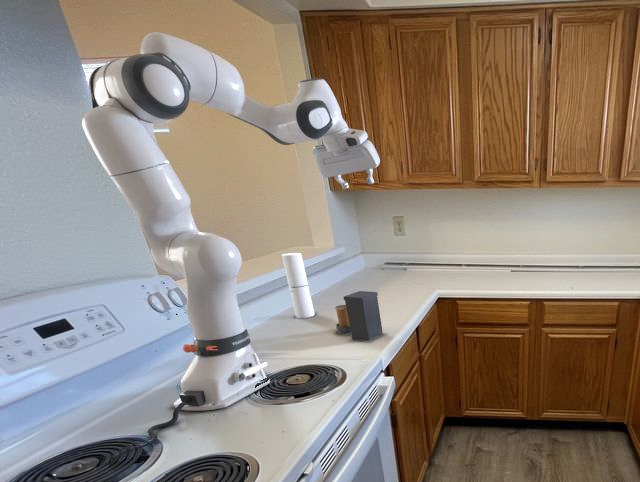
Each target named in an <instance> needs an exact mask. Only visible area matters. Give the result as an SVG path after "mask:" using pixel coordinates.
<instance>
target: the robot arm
mask: <svg viewBox="0 0 640 482" xmlns="http://www.w3.org/2000/svg"><path fill="white" fill-rule="evenodd" d="M140 43H141V44H140V47H139V48H140V49H139V53H138V54H133V55H131V56H129V57H124V58H123V57H121V58H115V59H113V60H110V61H108V62H106V63H105V64H103V65H101V66H98V67H96V68H95V69H94V70H93V71H92V72H91V75H90V76H89V80H88V90H89V95H90V98H91V107H92V108H90V109H89V110H88V111H86V113H84V115H83V116H82V118H81V127H82V130H83V132H84V134H85V137H86V138H87V140H88V142H89V145H90V147H91V149H92V150H93V152H94V153H95V156H96V158H97V159H98V162H100V165H101V166H102V168H103V169H104V171H105V172H106V173H107V175H108V176H109V178H110V179H111V181H112V182H113V184H114V186H115V187H116V188H117V190H118V191H119V192H120V194H121V196H122V198H124V201H126V203H127V205H128V206H129V207H130V209H131V210H132V212H133V214H134V215H135V217H136V219H137V221H138V223H139V224H140V225H139V226H140V227H141V229H142V231H143V234H144V236H145V238H146V240H147V242H148V244H149V247H150V255H151V258H152V260H153V262H154V263H155V265H156V266H157V267H159V268H160V269H161V270H163V271H165V272H166V273H168V274H170V275H171V276H174V277H176V278H182V279H184V280H185V284H186V298H187V299H186V303H185V306H184V309H185V314H186V316H187V319H188V322H189V324H190V327H191V330H192V333H193V336H194V337H193V344H192V343H191V344H187V343H186V344H184V345H183V346H182V351H183V353H186V354H187V353H192V354H194V356H193V358H192V360H191V362H190V363H189V365H188V367H187V369H186V370H185V372H184V374H183V375H182V377H181V379H180V381H179V384H180V390H181V393H180V394H178V397H179V398H177V399H176V400H175V401H174V402H173V407H174V408H175V409H174V410H173V412H172V418H171V419H170V420H168V421H165V422H162V423H158V424H156V425H152V426H151V427H150V428H148V430H147V435H148V436H150V437H151V438H154V439H153V440H152V441H150V442H148V443H147V444H145V445H143V446H140V447H138V448H135V449H132V450H129V451H128V452H130V451H133V450H137V449H140V448H144V447H147V446H150V445H152V444H154V443H155V442H156V441H157V440H158V437H159V436H158V434H157V433H156V432H155V431H156V430H159V429H162V428H167V427H170V426H172V425H174V424H175V423H176V422H177V421H178V419H179V413H180V411H195V412H197V411H200V412H201V411H213V410H219V409H224V408H227V407H229V406H231V405H233V404H235V403H236V402H239V401H240V400H242V399H244V398H245V397H247V396H249V395H251V394H253V393H254V392H256V391H259V390H260V389H262V388H264V387H266V386H267V385H269V384H270V383H271V380H270V378H269V380H268V381H267V382H265V383H263V384H261V385H259V386H257V387H256V388H255V385H256V384H257V383H262V382H264V381H261V380H263V379H265V378H267V374H265V371H264V369H263V368H264V367H266V366H268V363H267V362H263V363H262V364H261V361H260V359H259V357H258V355H257V353H256V351H255V350H254V349H253V348H252V346H251V341H252V340H251V336H250V334H249V332H248V331H249V330H248V329H247V328H246V327H245V323H244V320H243V317H242V314H241V311H240V306H239V302H238V297H237V296H238V295H237V294H238V293H237V278H238V274H239V272H240V271H241V269H242V265H243V258H242V254H241V252H240V250H239V248H238V247H237V245H235V243H233V242H232V241H231V240H229V239H227V238H225V237H223V236H221V235H218V234H216V233H213V232H206V231H205V232H204V231H202V232H201V231H200V230H199V229H198V226H197V225H196V223H195V220H194V216H193V213H192V208H191V204H192V200H191V197H190V195H189V194H188V192H187V190H186V188H185V186H184V185H183V183H182V181H181V180H180V178H179V176H178V175H177V173H176V172H175V170H174V168H173V167H172V164H171V163H170V161H169V159H167V157H166V155H165V154H164V152H163V150H162V149H161V147H160V146H159V143H158V141H157V138H156V135H155V131H154V125H156V124H161V123H164V122H167V121H169V120H175V119H176V118H179V117H181V116H182V115H183V114H184V113H185V111H186V110H187V108H188V106H189V104H190V100H191V101H193V102H196V103H198V104H201V105H203V106H206V107H208V108H211V109H215V110H216V111H220V112H223V113H225V114H227V115H229V116H231V117H233V118H235V119H237V120H240V121H242V122H244V123H246V124H248V125H251V126H253V127H255V128H258V129H259V130H261V131H262V132H264V133H265V134H266V135H267V136H268V137H270V138H271V139H272V140H273V141H275V143H277V144H279V145H283V146H291V145H294V144H298V143H305V142H311V141H312V142H313V141H317V140H319V139H321V142H322V144H316V145H314V146H313V148H312V152H311V153H312V155H313V158H314V159H315V161H316V164H317V167H318V169H319V172H320V174H321V176H322V177H324V178H326V179H328V178H334V180H335V181H336V182H337V183H338V184H340V185H341V188H342V189H343V190H346V189H349V187H350V185H349V182H348V181H347V180H346V181H345V180H344V179H343V178H342V176H343V175H348V174H351V173H358V172H362V171H365V173H367V174H368V176H367V177H366V182H367V184H368V185H372V184H374V183H375V180H374V177H373V175H374V169H376V168H378V166H380V163H381V159H380V156H379V153H378V151H377V149H376V148H375V145H374V144H373V142H372V141H370V140H369V139H368V138H369V135H368V133H367V131H366V130H362V129H356V128H351V127H349V126H348V124H347V122H346V120H345V119H344V118H343V115H342V110H341V107H340V104H339V102H338V100H337V97H336V96H335V94H334V92H333V90H332V89H331V87H330V85H329V83H328V82H327V81H326V80H325V79H324V78H322V77H314V78H308V79H304V80H300V81H299V82H298V90H297V93H296V95H295V97H294V98H293V100H292V102H288V103H283V104H273V105H268V104H264V103H262V102H260V101H258V100H256V99H254V98H252V97H251V96H249V95H247V94H246V88H245V83H244V80H243V78H242V75H241V73H240V72H239V70H238V69H237V68H236V67H235V66H234V65H233V64H232V63H231V62H230V61H228V60H226V59H225V58H223V57H221V56H220V55H218V54H215V53H214V52H212V51H210V50H209V49H206V48H204V47H202V46H200V45H198V44H194V43H192V42H190V41H188V40H185V39H183V38H179V37H177V36H174V35H171V34H167V33H165V32H164V33H163V32H161V31H153V32H149V33H147V34H146V35H145V36H144V38H143V39H142V41H141V42H140ZM253 388H254V389H253ZM131 445H132V444H130V445H127V446H123V447H122V448H120V449H119V450H122V449H125V448H128V447H130V446H131ZM124 453H126V452H124ZM124 453H122V454H120V455H117V456H115V457H111V456H110V458H111V459H112V461H110V460H111V459H110V458H109V459H108V461H107V466H109V465H113V464H114V463H116V461H117V459H118V458H119V457H120V456H121V455H123V454H124ZM109 461H110V462H109Z"/></svg>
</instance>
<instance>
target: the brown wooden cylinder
mask: <svg viewBox="0 0 640 482" xmlns="http://www.w3.org/2000/svg"><path fill="white" fill-rule="evenodd" d="M334 309H335V312H336V317H337V322H338V323H339V326H340V327H346V326H350V325H349V319H348V314H347V309H346V304H339V305H337V306H335V307H334Z"/></svg>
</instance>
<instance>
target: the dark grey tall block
mask: <svg viewBox="0 0 640 482" xmlns="http://www.w3.org/2000/svg"><path fill="white" fill-rule="evenodd" d="M378 295H379V294H378V291H368V290H367V291H365V290H358V291H356V292H352V293H350V294H347V295H343V301H344V302H345V305H346V309H347V314H348V319H349V325H350V330H351V333H350V335H351V339H352V340H358V341H367V342H370V341H372V340H374V339H375V338H377V337H379V336H381V335H383V334H384V333H383V332H384V331H383V325H382V319H381V313H380V306H379V300H378V299H379V298H378Z"/></svg>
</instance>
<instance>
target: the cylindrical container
mask: <svg viewBox="0 0 640 482" xmlns="http://www.w3.org/2000/svg"><path fill="white" fill-rule="evenodd" d="M281 259H282V263H283V267H284V272H285V276H286V279H287V280H286V281H287V284H288V289H289V293H290V297H291V301H292V306H293V309H294V313H295V317H296V318H298V319H307V318H311V317H314V316H315V314H316V313H315V309H314V306H313V301H312V296H311V291H310V287H309V282H308V277H307V273H306V268H305V265H304V264H305V263H304V260H303V255H302V253H301V252H287V253H282V254H281Z"/></svg>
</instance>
